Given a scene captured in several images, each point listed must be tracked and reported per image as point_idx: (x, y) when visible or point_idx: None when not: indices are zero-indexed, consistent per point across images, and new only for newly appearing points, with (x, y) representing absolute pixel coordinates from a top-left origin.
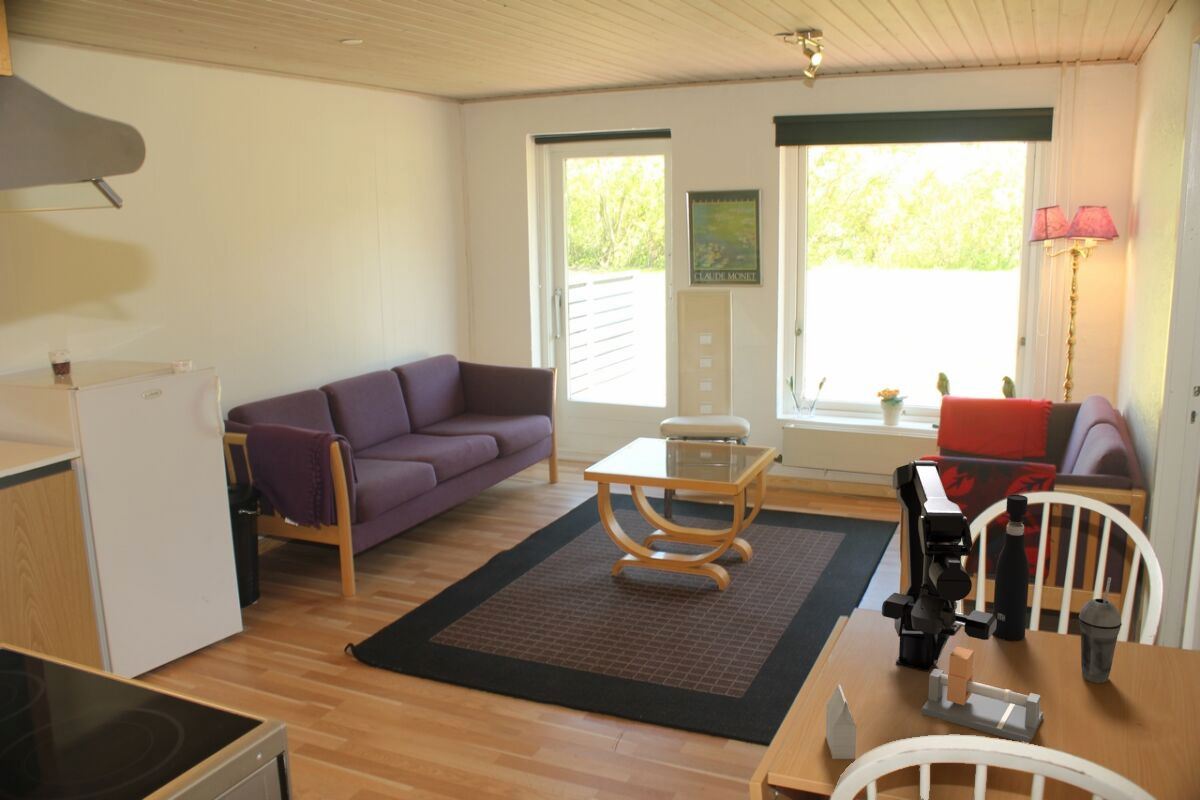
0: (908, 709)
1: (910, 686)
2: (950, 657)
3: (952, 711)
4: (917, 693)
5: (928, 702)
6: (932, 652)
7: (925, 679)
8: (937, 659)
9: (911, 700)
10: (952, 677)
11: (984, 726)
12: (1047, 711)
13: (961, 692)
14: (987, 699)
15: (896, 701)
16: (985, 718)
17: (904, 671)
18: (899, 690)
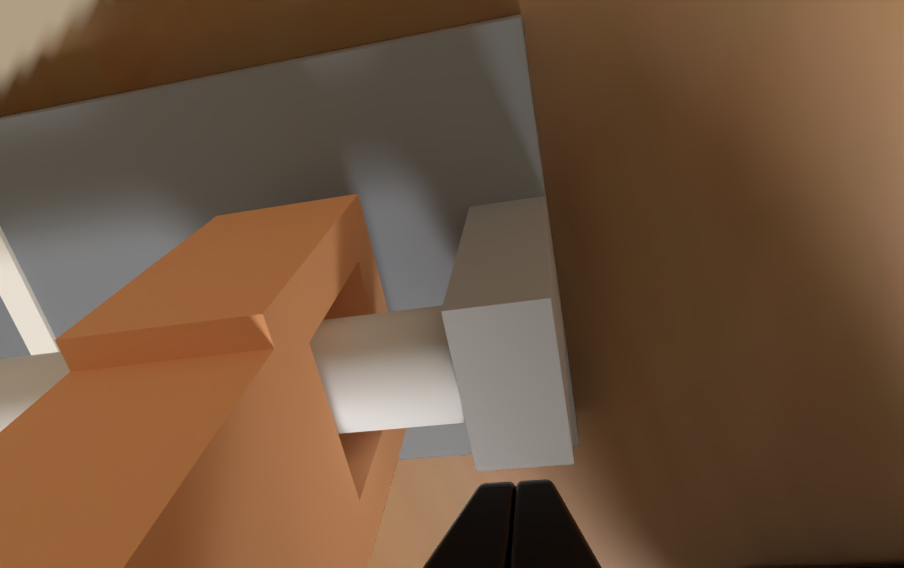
0: (648, 4)
1: (773, 353)
2: (136, 535)
3: (301, 142)
4: (687, 294)
5: (519, 146)
6: (552, 566)
7: (713, 490)
8: (474, 497)
9: (686, 166)
10: (216, 308)
11: (36, 114)
12: None
13: (190, 257)
14: None
15: (793, 62)
16: (88, 213)
17: (885, 507)
18: (831, 249)
